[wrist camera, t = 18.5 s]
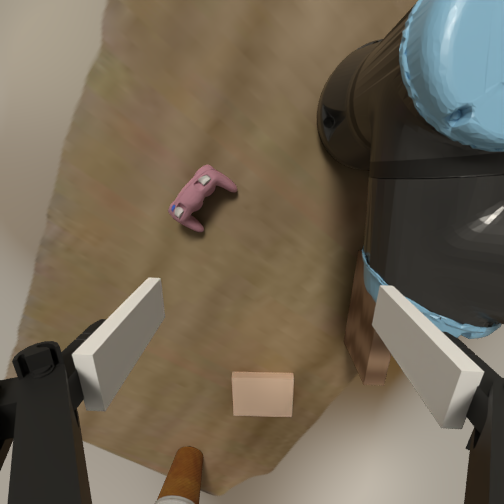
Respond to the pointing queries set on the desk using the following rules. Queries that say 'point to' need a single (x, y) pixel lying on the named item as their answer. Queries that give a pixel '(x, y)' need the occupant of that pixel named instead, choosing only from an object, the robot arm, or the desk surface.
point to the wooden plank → (365, 333)
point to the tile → (262, 394)
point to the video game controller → (198, 195)
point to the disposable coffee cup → (183, 478)
